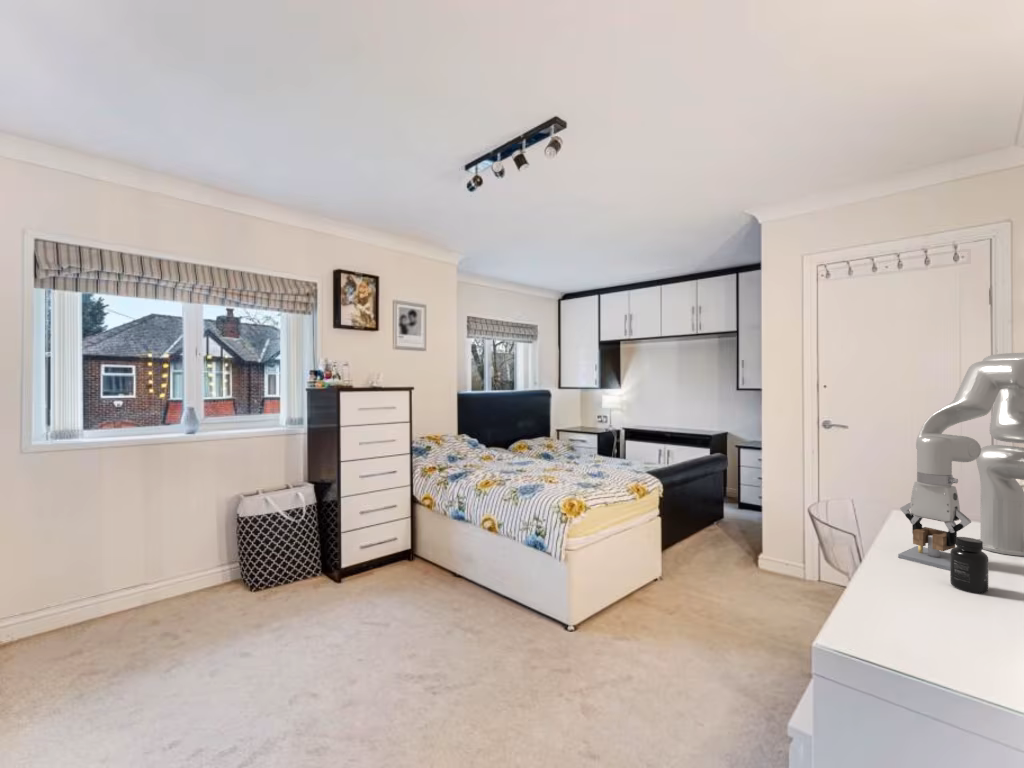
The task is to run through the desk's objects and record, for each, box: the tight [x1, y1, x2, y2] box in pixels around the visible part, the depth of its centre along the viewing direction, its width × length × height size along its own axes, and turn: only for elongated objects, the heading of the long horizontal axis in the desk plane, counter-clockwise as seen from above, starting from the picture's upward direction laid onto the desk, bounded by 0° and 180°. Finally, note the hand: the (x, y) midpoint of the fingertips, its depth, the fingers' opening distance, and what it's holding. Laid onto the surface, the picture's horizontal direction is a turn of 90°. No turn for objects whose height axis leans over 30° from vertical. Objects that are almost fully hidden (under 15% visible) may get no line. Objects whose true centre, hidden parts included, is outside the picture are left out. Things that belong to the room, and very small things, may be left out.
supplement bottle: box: [949, 536, 989, 594], centre depth 119 cm, size 7×7×12 cm
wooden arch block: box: [912, 526, 956, 552], centre depth 138 cm, size 7×7×4 cm
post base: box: [897, 535, 950, 571], centre depth 138 cm, size 14×12×6 cm
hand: (933, 541), depth 138 cm, fingers closed on wooden arch block, 7 cm apart
